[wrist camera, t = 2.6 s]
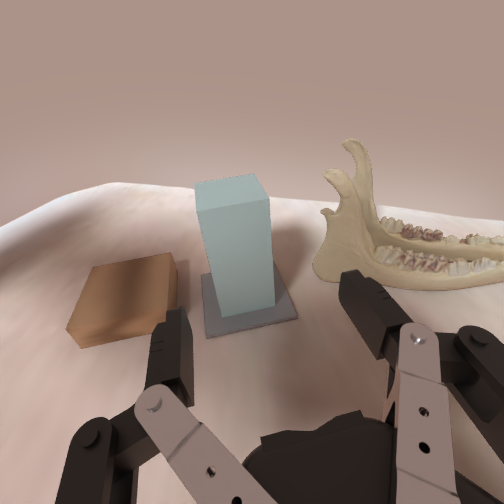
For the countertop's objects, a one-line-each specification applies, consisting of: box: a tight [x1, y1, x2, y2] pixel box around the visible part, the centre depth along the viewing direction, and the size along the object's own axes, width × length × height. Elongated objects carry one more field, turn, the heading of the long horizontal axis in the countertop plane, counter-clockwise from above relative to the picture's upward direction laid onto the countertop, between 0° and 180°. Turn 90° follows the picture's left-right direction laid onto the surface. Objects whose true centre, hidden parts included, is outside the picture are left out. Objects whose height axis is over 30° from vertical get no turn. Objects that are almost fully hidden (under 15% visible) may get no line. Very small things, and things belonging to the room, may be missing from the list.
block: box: [194, 174, 275, 318], centre depth 26 cm, size 6×6×12 cm
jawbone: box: [312, 138, 504, 290], centre depth 26 cm, size 25×10×14 cm, turn 65°
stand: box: [66, 252, 177, 349], centre depth 29 cm, size 9×9×3 cm
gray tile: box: [201, 261, 297, 339], centre depth 29 cm, size 9×9×1 cm
